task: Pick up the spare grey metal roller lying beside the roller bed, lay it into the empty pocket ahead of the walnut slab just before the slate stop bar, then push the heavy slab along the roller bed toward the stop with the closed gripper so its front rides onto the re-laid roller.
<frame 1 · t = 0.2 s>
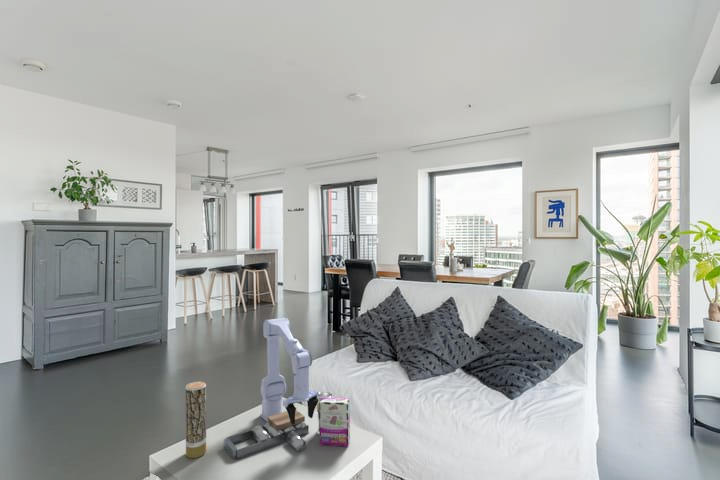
hand: (301, 420, 140), 10 cm above the table, fingers open, 7 cm apart
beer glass: (324, 432, 150), on the table
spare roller: (296, 446, 140), on the table
roller bed: (271, 438, 146), on the table
paper tube: (196, 454, 135), on the table
candy bar box: (334, 443, 143), on the table
slab: (286, 419, 150), point 6 cm above the table, slide at 0.0 cm
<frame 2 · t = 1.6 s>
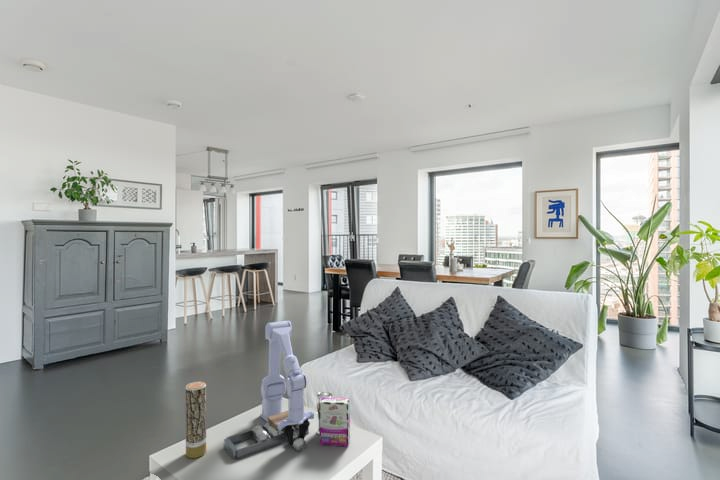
hand: (296, 442, 140), 1 cm above the table, fingers closed on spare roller, 4 cm apart
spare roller: (296, 446, 140), on the table, touching gripper
everything else where it was.
when the fingers open (4 cm above the table, at t = 5.2 s): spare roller drops 2 cm, resting in roller bed.
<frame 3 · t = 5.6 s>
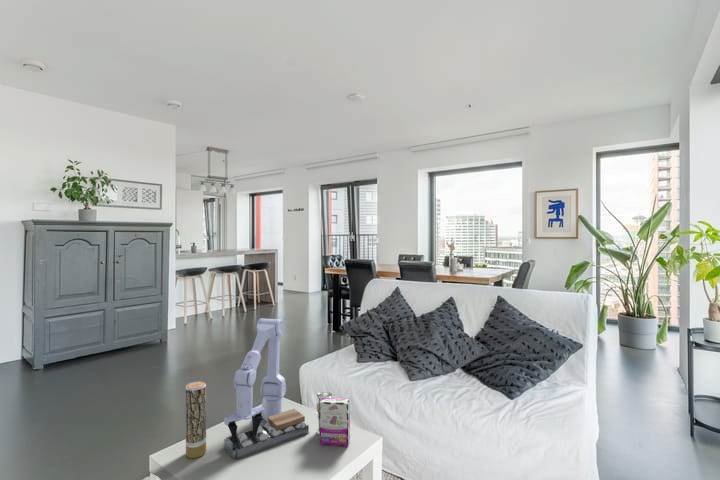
hand: (244, 438, 139), 4 cm above the table, fingers open, 7 cm apart
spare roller: (245, 448, 139), resting in roller bed
everything else where it was.
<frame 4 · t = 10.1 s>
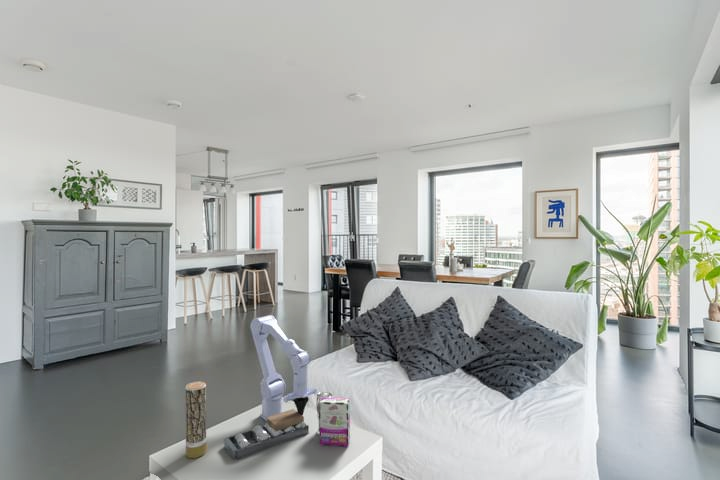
hand: (300, 414, 154), 5 cm above the table, fingers closed
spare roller: (245, 447, 139), resting in roller bed, tilted 34°
slab: (285, 419, 149), point 6 cm above the table, slide at 0.5 cm, touching gripper
everything else where it was.
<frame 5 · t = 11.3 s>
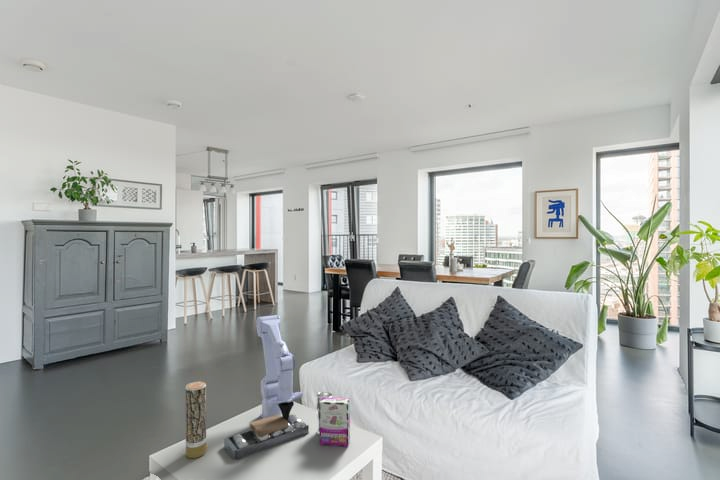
hand: (285, 419, 149), 5 cm above the table, fingers closed
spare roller: (244, 446, 139), point 1 cm above the table, tilted 50°
slab: (269, 424, 145), point 6 cm above the table, slide at 7.3 cm, touching gripper
everything else where it was.
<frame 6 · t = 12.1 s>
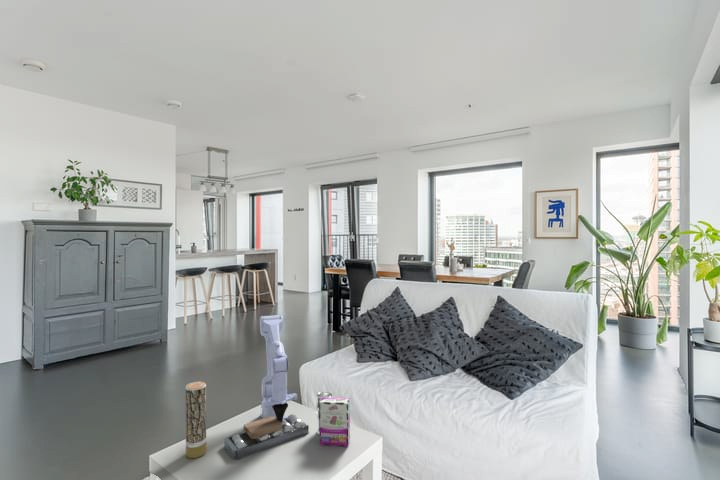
hand: (279, 421, 148), 5 cm above the table, fingers closed
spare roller: (244, 445, 139), point 1 cm above the table, tilted 66°
slab: (263, 426, 144), point 6 cm above the table, slide at 9.9 cm, touching gripper
everything else where it was.
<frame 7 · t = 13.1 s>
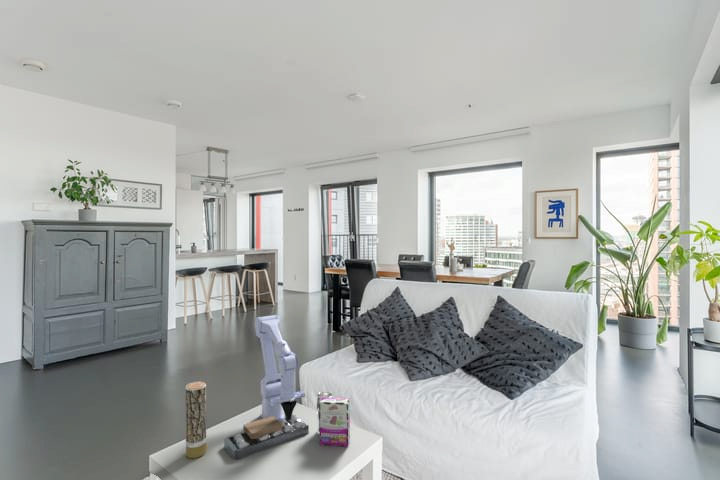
hand: (288, 418, 150), 5 cm above the table, fingers closed
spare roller: (244, 446, 139), resting in roller bed, tilted 45°
slab: (262, 426, 144), point 6 cm above the table, slide at 9.9 cm
everything else where it was.
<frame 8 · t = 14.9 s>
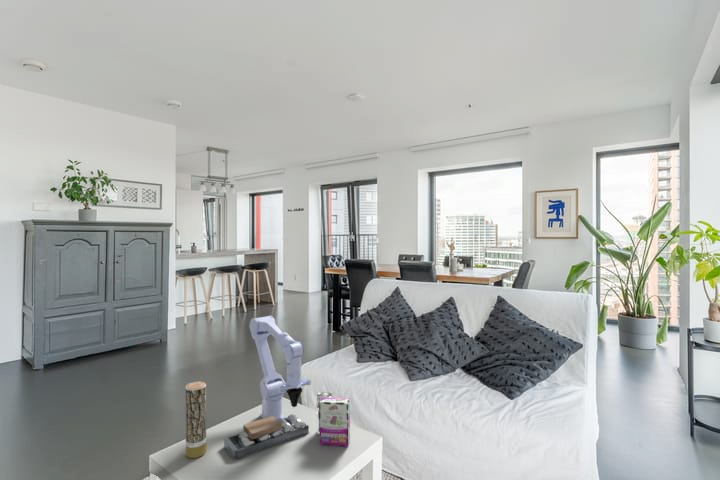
hand: (294, 405, 152), 10 cm above the table, fingers closed
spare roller: (245, 448, 139), resting in roller bed, tilted 15°
everything else where it was.
at the end: slab slide at 9.9 cm; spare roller inside the target area (0.2 cm from its centre), resting in roller bed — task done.
